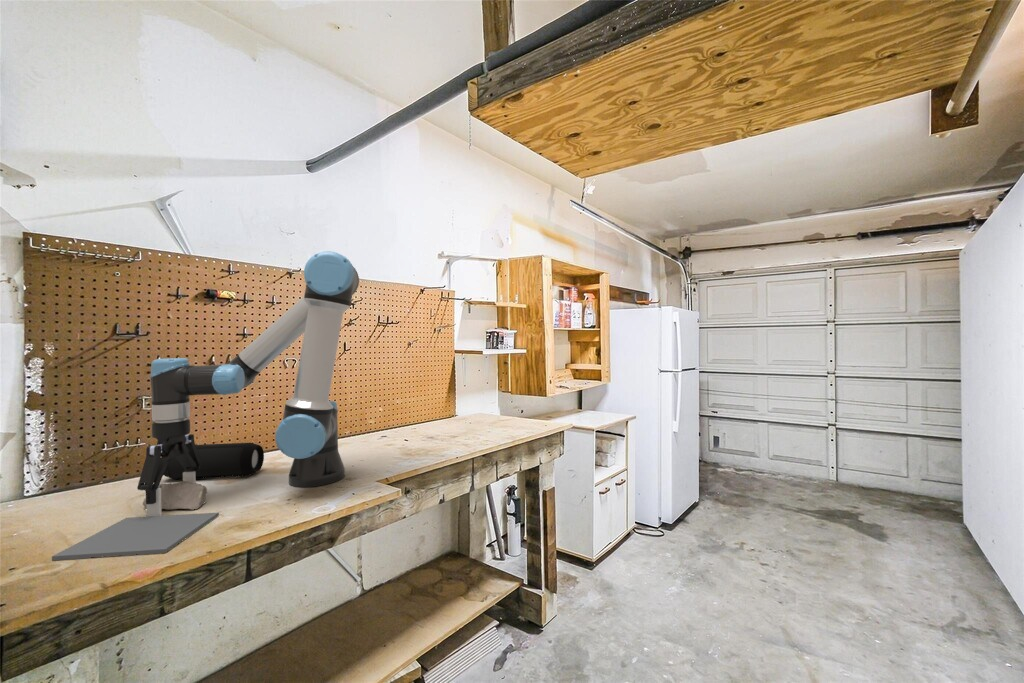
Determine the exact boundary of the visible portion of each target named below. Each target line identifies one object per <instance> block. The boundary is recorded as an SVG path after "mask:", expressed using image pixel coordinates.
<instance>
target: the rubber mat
mask: <svg viewBox="0 0 1024 683" xmlns="http://www.w3.org/2000/svg"><path fill="white" fill-rule="evenodd" d="M218 515H219V516H220V512H202V513H186V514H183V513H182V514H169V515H161V516H148V517H147V516H134V517H133V516H132V517H125V518H123V519H121V520H119V521H117V522H116V523H114V524H111V525H110V526H108V527H106V528H104V529H102V530H100V531H98V532H97V533H95V534H92V535H90V536H88V537H86V538H85V539H82V540H81V541H79V542H76V543H74V544H73V545H71V546H69V547H67V548H65V549H64V550H61V551H59V552H58V553H56V554H54V555H52V556H51V561H52V562H53V561H65V560H66V561H68V560H69V561H70V560H80V559H84V560H85V559H92V558H91V557H100V558H103V557H102V556H115V557H119V556H118V555H130V556H142V555H143V554H145V555H156V554H157V555H159V554H160V553H161V554H167V553H168V552H170V551H171V550H172V549H174V548H175V547H176V545H177V544H178V543H180V542H181V541H182V540H184V539H185V538H187V537H188V538H190V537H191V536H192V535H193V533H194V532H195V533H197V532H198V531H200V530H201V529H202V528H204V527H205V526H207V525H208V524H209V523H211V522H212V521H214V520H215V519H216V518H215V517H217V516H218ZM219 516H218V517H219ZM218 517H217V518H218ZM214 518H215V519H214ZM213 519H214V520H213ZM211 520H212V521H211ZM210 521H211V522H210ZM207 523H208V524H207ZM206 524H207V525H206ZM204 525H205V526H204ZM203 526H204V527H203ZM201 527H202V528H201ZM200 528H201V529H200ZM197 530H198V531H197ZM196 531H197V532H196ZM195 533H194V534H195ZM191 534H192V535H191ZM190 535H191V536H190ZM189 536H190V537H189ZM188 538H187V539H188ZM185 540H186V539H185ZM185 540H184V541H185ZM182 542H183V541H182ZM182 542H181V543H182ZM181 543H180V544H181ZM178 545H179V544H178ZM178 545H177V546H178ZM174 546H175V547H174ZM173 547H174V548H173ZM170 549H171V550H170ZM169 550H170V551H169ZM167 551H168V552H167ZM166 552H167V553H166ZM136 554H138V555H136ZM139 554H141V555H139ZM143 556H144V555H143Z"/></svg>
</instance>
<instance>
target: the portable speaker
mask: <svg viewBox="0 0 1024 683" xmlns="http://www.w3.org/2000/svg"><path fill="white" fill-rule="evenodd" d="M195 445H196V448H197V451H198V454H199V457H200V460H201V466H200V470H198V471H195V472H196V478H199V479H214V478H215V479H216V478H219V477H220V478H234V477H235V478H238V476H240V477H249V476H252V475H253V474H257V473H258V472H260V470H261V469H262V467H263V466H264V465H263V464H264V459H265V452H264V448H263V447H262V445H260V444H258V443H254V442H231V443H212V444H210V443H207V444H206V443H205V444H195ZM194 462H196V461H194ZM183 472H187V471H185V469H184V468H183V467H182V465H181V464H180V462H179V461H178V459H177V458H176V457H175V458H173V459H172V461H171V462H169V463H168V465H167V467H166V470H165V472H164V474H163V476H164V477H167V478H169V479H173V480H183ZM236 476H237V477H236ZM220 478H219V479H220Z"/></svg>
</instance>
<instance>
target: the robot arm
mask: <svg viewBox="0 0 1024 683" xmlns="http://www.w3.org/2000/svg"><path fill="white" fill-rule="evenodd" d="M303 276H304V280H305V281H304V282H305V290H304V295H303V296H302V297H301V298H300V299H299V300H297V302H296V303H294V304H293V305H292V306H291V307H290V308H289V309H288V310H287V311H285V313H283V314H282V315H281V316H280V317H278V318H277V320H275V321H274V322H273V323H271V325H270V326H269V327H267V328H266V329H265V330H264V331H263V332H262V333H260V334H259V335H258V336H257V337H256V338H254V339H253V341H252V342H251V343H250V344H248V345H247V346H246V347H245V348H243V350H241V351H240V352H239V353H238V355H236V356H235V357H233V359H231V360H230V361H229V362H227V363H223V364H210V365H209V364H207V365H190V362H189V359H188V358H185V357H183V358H181V357H177V358H176V357H174V358H171V357H169V358H157V359H154V360H152V362H151V365H150V366H151V367H150V370H151V371H150V377H149V379H150V389H151V390H150V391H151V420H152V421H153V422H152V423H151V437H152V438H153V439H155V440H157V441H156V445H147V446H146V450H145V452H146V454H145V455H146V456H145V460H144V463H143V466H142V469H141V474H140V477H139V479H138V484H137V490H138V491H145V498H146V504H147V510H146V517H148V516H162V509H161V488H158V486H159V484H161V481H162V479H163V476H164V475H163V474H164V472H165V470H166V467H167V465H168V463H169V462H171V461H172V459H173V458H175V457H176V458H177V459H178V461H179V462H180V464H181V465H182V467H183V468H184V469H185V471H187V472H183V479H182V482H184V481H188V482H192V483H196V482H197V481H196V480H197V479H196V472H195V471H198V470H200V466H201V460H200V457H199V454H198V451H197V448H196V445H197V444H196V442H195V434H194V433H192V434H191V420H190V419H189V417H190V416H191V406H190V405H191V404H190V397H191V396H210V395H211V396H213V395H222V396H226V395H232V394H234V395H235V394H239V393H240V392H242V390H243V389H245V388H247V387H248V386H250V385H251V384H253V382H255V379H256V377H257V376H258V375H259V374H260V373H261V372H262V371H263V370H264V369H266V368H267V367H268V366H269V365H270V364H271V363H272V362H273V361H274V360H275V359H277V357H279V356H280V355H281V354H282V353H283V352H284V351H286V350H287V349H288V347H290V346H291V345H292V344H294V342H296V340H297V339H299V338H300V337H301V336H302V335H303V340H302V345H301V351H300V355H299V361H298V367H297V372H296V374H297V375H296V380H295V385H294V390H293V396H292V397H291V398H289V399H288V400H287V401H285V404H284V411H283V415H282V416H283V417H282V420H281V421H280V422H279V423H278V426H277V428H276V431H275V435H274V439H275V443H276V446H277V448H278V449H279V451H280V452H281V453H282V454H284V455H285V456H286V457H289V458H290V459H293V461H292V463H291V464H292V465H291V468H290V470H289V472H288V473H289V474H288V484H289V485H290V486H293V487H298V488H308V487H309V488H311V487H318V486H323V485H324V486H325V485H330V484H333V483H335V482H338V481H340V480H343V478H344V477H345V476H346V468H345V465H344V462H343V460H342V457H341V454H340V453H339V452H340V451H339V436H338V435H339V433H338V432H339V430H338V428H339V426H338V412H339V410H338V404H337V402H336V401H335V400H329V399H330V398H329V397H330V393H331V386H332V382H333V381H332V380H333V375H334V370H335V369H334V368H335V365H336V364H335V363H336V358H337V357H336V356H337V351H338V344H339V340H340V335H341V333H340V332H341V328H342V322H343V316H344V312H347V311H348V310H349V309H351V305H352V300H353V295H354V294H355V293H356V292H357V291H358V288H359V284H360V277H359V273H358V272H357V269H356V267H354V265H353V264H352V263H351V261H350V260H349V259H348V258H347V257H346V256H345V255H342V254H341V253H338V252H335V251H330V250H327V251H326V250H324V251H320V252H317V253H315V254H314V255H312V256H311V257H310V258H309V259H308V260H307V262H306V263H305V266H304V270H303ZM194 461H196V462H194Z"/></svg>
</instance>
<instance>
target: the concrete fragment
mask: <svg viewBox="0 0 1024 683" xmlns="http://www.w3.org/2000/svg"><path fill="white" fill-rule="evenodd" d="M158 488H161V510H166V511H169V510H178V509H184V510H193V511H194V509H195V510H197V509H200V508H201V507H202V505H204V504H205V503H206V501H207V494H208V489H207V487H206V486H205V485H202V484H201V483H192V482H188V481H184V482H183V481H179V482H174V483H171V482H170V483H162V482H160V484H159V486H158ZM204 502H205V503H204ZM203 503H204V504H203ZM142 505H143V508H144V510H145V509H147V504H146V497H145V498H144V499H143V502H142ZM199 507H200V508H199Z"/></svg>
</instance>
